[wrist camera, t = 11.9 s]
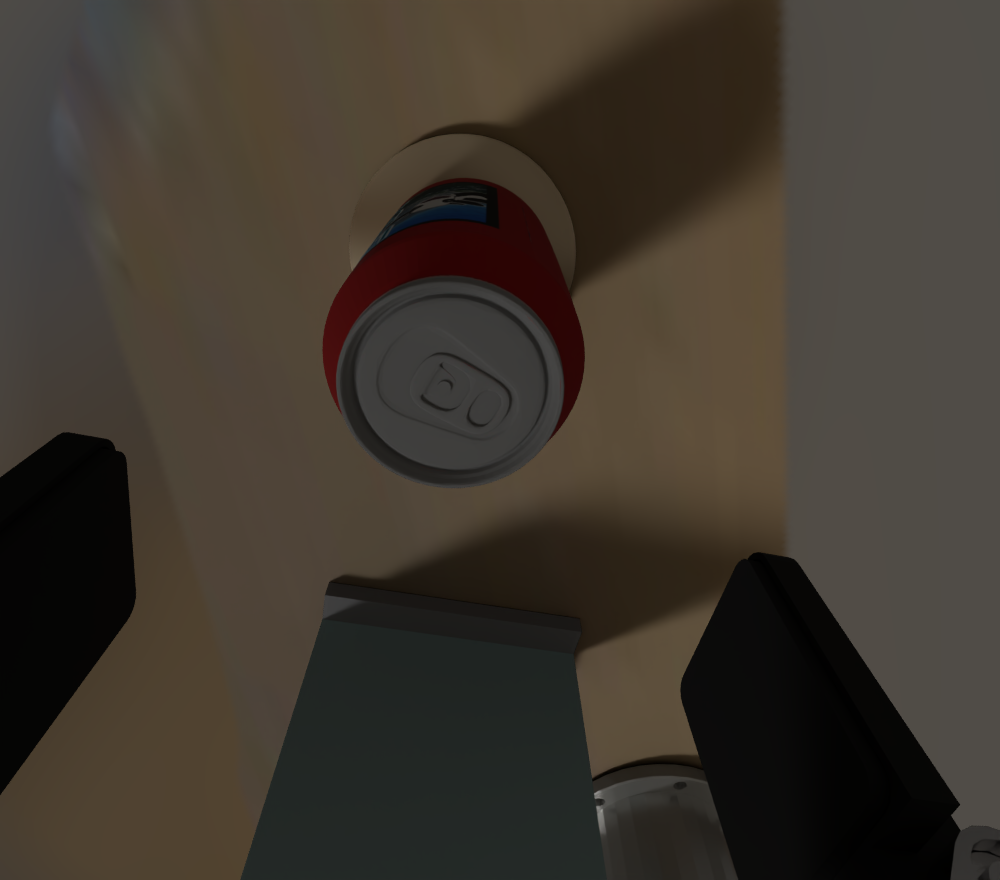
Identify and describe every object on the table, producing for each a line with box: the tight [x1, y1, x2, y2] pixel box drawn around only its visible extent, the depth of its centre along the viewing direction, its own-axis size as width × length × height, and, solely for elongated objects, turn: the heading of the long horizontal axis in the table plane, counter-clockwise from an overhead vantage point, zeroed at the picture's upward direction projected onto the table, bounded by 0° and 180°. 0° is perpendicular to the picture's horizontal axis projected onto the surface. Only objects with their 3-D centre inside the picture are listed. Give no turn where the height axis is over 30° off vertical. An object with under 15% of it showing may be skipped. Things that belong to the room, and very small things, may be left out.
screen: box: [241, 582, 607, 880], centre depth 30 cm, size 5×14×14 cm, turn 78°
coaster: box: [349, 133, 576, 290], centre depth 25 cm, size 9×9×1 cm
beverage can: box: [323, 178, 585, 488], centre depth 20 cm, size 7×7×12 cm
